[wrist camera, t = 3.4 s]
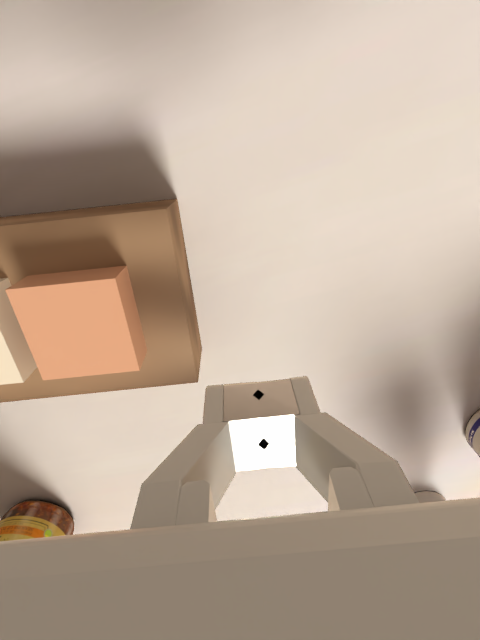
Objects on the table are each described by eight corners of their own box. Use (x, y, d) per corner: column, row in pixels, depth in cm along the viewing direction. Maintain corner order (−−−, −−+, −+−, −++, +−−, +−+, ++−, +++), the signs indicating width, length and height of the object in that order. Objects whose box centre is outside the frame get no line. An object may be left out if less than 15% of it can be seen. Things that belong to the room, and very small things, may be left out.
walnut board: (201, 348, 24) (197, 382, 21) (3, 368, 24) (-35, 406, 21) (177, 198, 20) (166, 208, 16) (-65, 223, 20) (-128, 239, 16)
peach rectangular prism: (147, 350, 19) (139, 370, 18) (59, 359, 20) (42, 380, 18) (126, 265, 17) (115, 278, 16) (27, 275, 17) (5, 289, 16)
